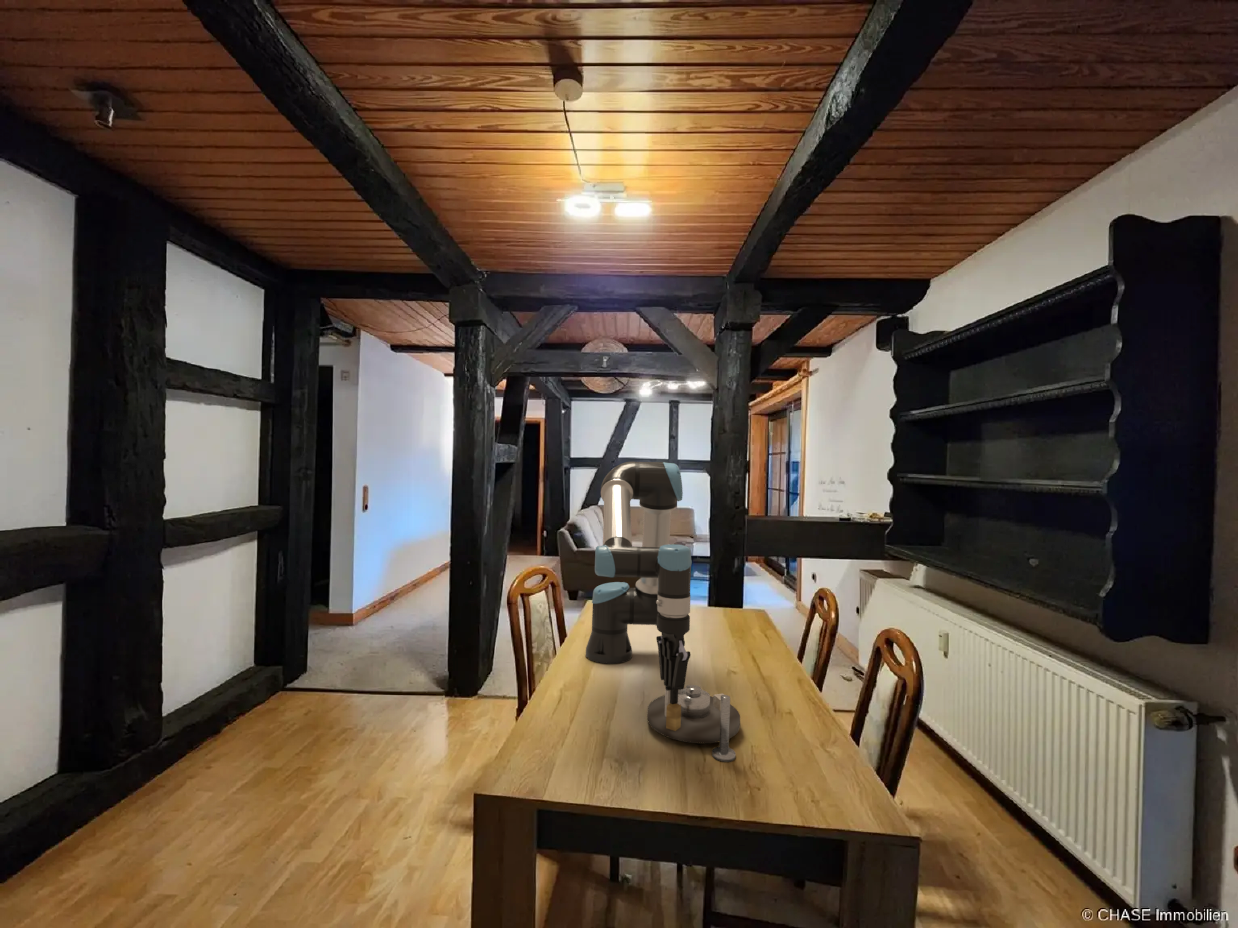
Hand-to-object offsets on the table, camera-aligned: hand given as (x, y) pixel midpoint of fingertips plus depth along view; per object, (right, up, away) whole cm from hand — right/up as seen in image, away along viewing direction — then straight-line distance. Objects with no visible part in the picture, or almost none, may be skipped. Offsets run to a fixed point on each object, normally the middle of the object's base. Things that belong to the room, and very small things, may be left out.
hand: (671, 715), depth 127 cm
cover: (+6, -2, +6) cm, 9 cm away
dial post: (+11, -6, -7) cm, 14 cm away
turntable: (+6, -4, +6) cm, 9 cm away
